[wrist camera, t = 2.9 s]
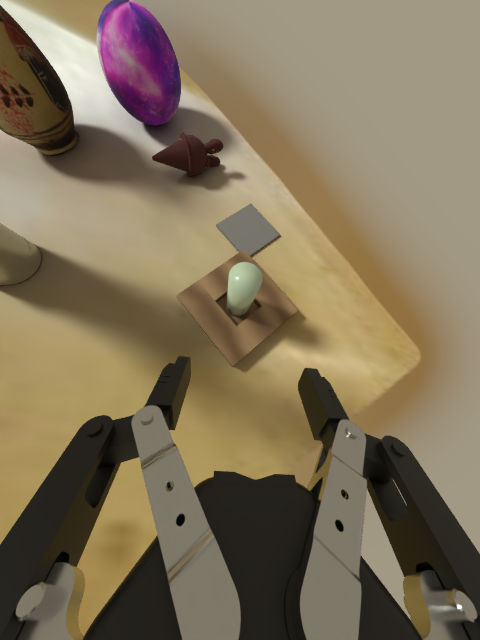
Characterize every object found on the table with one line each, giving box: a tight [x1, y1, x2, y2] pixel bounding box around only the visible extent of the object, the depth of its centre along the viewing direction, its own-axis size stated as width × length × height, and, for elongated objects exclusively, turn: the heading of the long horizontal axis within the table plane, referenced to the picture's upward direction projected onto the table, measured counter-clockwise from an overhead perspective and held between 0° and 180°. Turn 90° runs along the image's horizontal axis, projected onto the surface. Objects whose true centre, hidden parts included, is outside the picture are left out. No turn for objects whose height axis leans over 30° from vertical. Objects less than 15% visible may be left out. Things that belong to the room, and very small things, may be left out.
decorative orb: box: [97, 0, 181, 126], centre depth 37 cm, size 15×15×15 cm
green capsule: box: [226, 262, 263, 317], centre depth 29 cm, size 4×4×12 cm
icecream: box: [152, 133, 223, 177], centre depth 39 cm, size 7×7×15 cm
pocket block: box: [177, 250, 298, 366], centre depth 34 cm, size 16×16×2 cm
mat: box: [216, 204, 280, 256], centre depth 39 cm, size 10×10×1 cm
